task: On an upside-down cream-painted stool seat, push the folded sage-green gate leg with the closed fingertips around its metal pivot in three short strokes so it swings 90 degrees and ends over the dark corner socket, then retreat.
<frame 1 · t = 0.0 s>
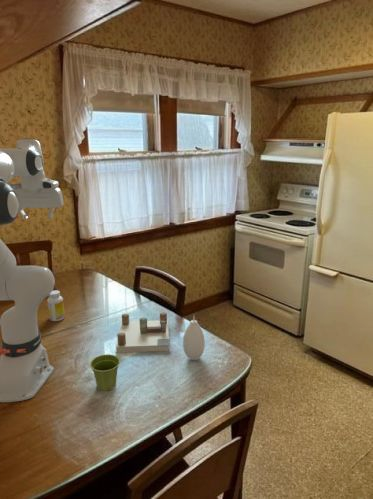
hand: (37, 218, 143), 48 cm above the table, fingers open, 8 cm apart
supplement bottle: (57, 318, 166), on the table
stool seat: (144, 338, 149), on the table
plant pot: (106, 385, 121), on the table
swing leg: (152, 325, 148), point 6 cm above the table, hinge at 0.0°
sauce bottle: (193, 359, 135), on the table
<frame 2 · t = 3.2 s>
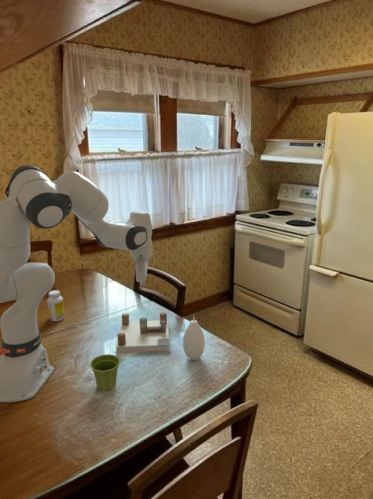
hand: (142, 284, 149), 21 cm above the table, fingers closed
nothing on the table moved.
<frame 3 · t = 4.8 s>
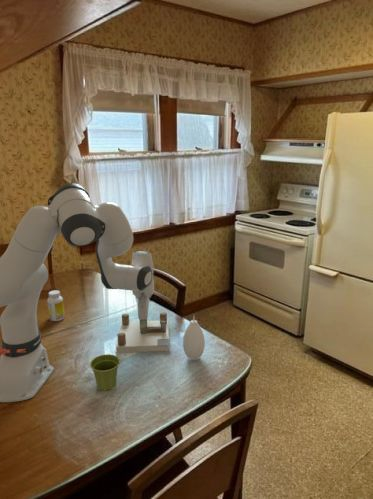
hand: (144, 319, 154), 5 cm above the table, fingers closed
nothing on the table moved.
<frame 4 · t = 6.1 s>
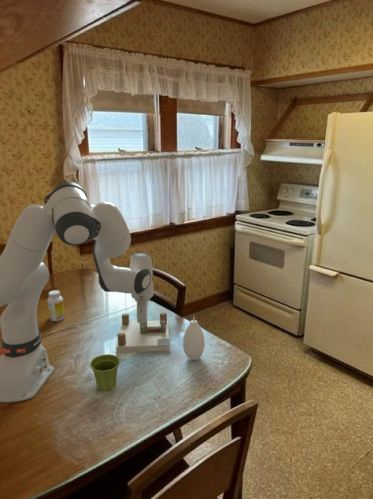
hand: (143, 322, 152), 5 cm above the table, fingers closed
swing leg: (152, 325, 148), point 6 cm above the table, hinge at 0.2°, touching gripper
everything else where it was.
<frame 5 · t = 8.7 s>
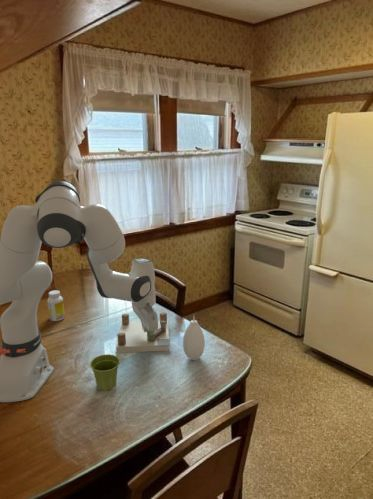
hand: (145, 330, 144), 5 cm above the table, fingers closed
swing leg: (156, 329, 145), point 6 cm above the table, hinge at 52.6°, touching gripper
everything else where it was.
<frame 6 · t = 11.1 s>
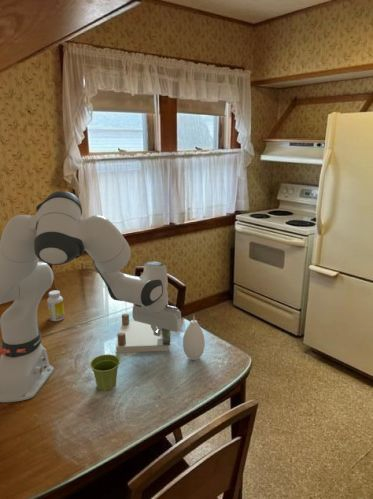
hand: (157, 335, 141), 5 cm above the table, fingers closed
swing leg: (164, 329, 144), point 6 cm above the table, hinge at 98.1°, touching gripper
everything else where it was.
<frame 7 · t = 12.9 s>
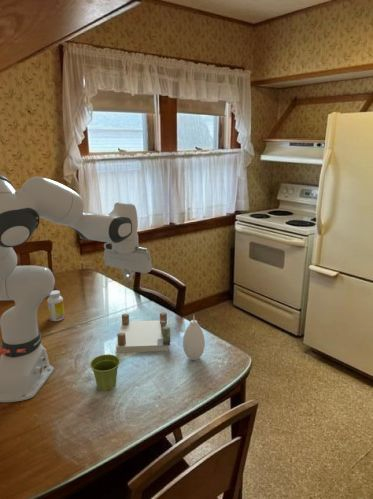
hand: (128, 279, 141), 26 cm above the table, fingers closed
swing leg: (164, 329, 144), point 6 cm above the table, hinge at 98.1°
everything else where it was.
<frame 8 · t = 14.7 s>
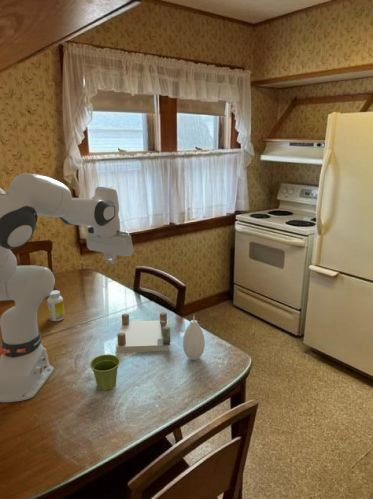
hand: (110, 263, 143), 31 cm above the table, fingers closed
nothing on the table moved.
at the end: swing leg at +98° (first picture: +0°); swing leg touching nothing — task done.
